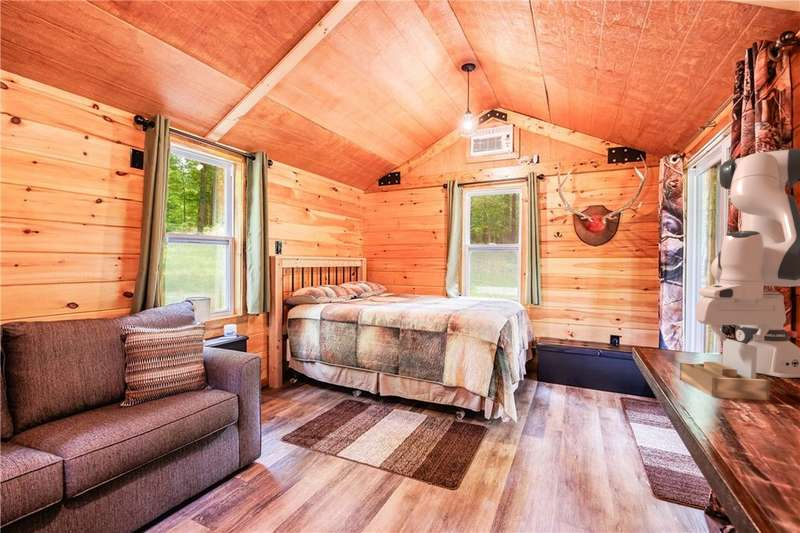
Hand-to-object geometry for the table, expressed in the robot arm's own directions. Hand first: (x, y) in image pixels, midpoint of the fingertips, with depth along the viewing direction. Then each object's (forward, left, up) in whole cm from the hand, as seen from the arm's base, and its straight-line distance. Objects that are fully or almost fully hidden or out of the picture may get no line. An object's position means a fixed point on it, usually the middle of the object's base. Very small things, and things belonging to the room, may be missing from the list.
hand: (739, 340), depth 101 cm
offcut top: (+5, 0, -9) cm, 11 cm away
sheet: (0, 0, -13) cm, 13 cm away
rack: (+4, 0, -14) cm, 15 cm away
